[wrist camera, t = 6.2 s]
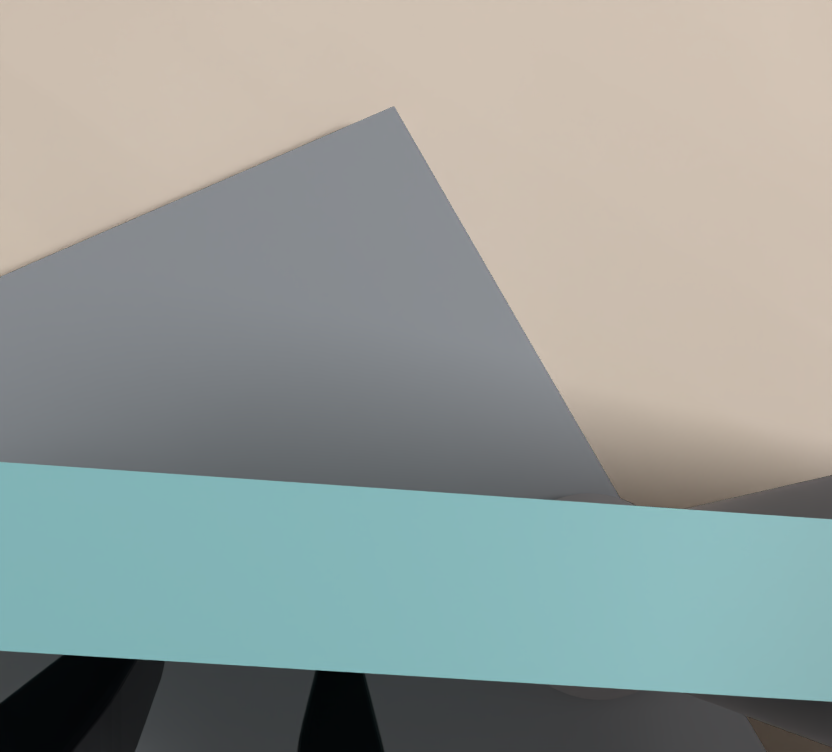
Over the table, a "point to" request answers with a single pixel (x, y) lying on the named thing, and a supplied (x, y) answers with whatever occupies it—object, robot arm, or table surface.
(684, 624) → the door
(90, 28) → the table surface
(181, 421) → the base board
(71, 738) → the robot arm
